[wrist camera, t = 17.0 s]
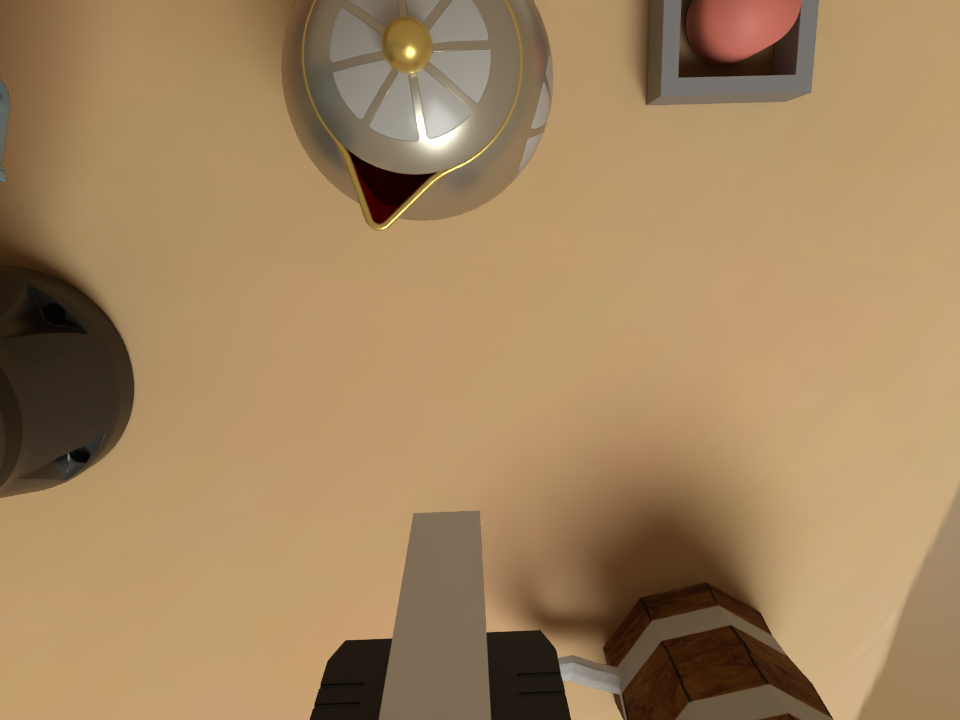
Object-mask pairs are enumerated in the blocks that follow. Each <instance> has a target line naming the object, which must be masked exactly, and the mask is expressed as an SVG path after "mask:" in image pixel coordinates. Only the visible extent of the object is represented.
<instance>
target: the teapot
mask: <svg viewBox="0 0 960 720" xmlns="http://www.w3.org/2000/svg"><path fill="white" fill-rule="evenodd" d="M282 83H283V91H284V97H285V102H286V106H287V110H288V113H289V116H290V119H291V122H292V125H293V127H294V130H295V132H296V134H297V137H298V139H299V141H300V143H301V144H302V146H303V148H304V150H305V151H306V153H307V154H308V156H309V157H310V159H311V160H312V162H313V163H314V164H315V166H316V167H317V168H318V169H319V171H320V172H321V173H322V174H323V175H324V176H325V177H326V178H327V179H328V180H329V181H330V182H331V183H332V184H333V185H334V186H335V187H336V188H337V189H339V190H340V191H341V192H342V193H344V194H345V195H347V196H348V197H349V198H351V199H353V200H354V201H356V202H357V203H359V204H360V206H361V209H362V212H363V215H364V217H365V220H366V222H367V224H368V225H369V226H370V227H371V228H372V229H374V230H378V231H382V230H386V229H387V228H389V227H390V226H391V225H392V224H393V223H394V222H395V221H396V220H397V219H398V218H400V219H407V220H422V221H426V220H438V219H445V218H450V217H454V216H458V215H461V214H464V213H467V212H469V211H471V210H474V209H476V208H478V207H480V206H482V205H484V204H485V203H487V202H489V201H490V200H492V199H493V198H495V197H496V196H497V195H499V194H500V193H501V192H502V191H504V190H505V189H506V188H507V187H508V186H509V185H510V184H511V183H512V182H513V181H514V180H515V179H516V178H517V177H518V176H519V175H520V173H521V172H522V171H523V169H524V168H525V167H526V165H527V164H528V162H529V161H530V159H531V158H532V156H533V154H534V153H535V151H536V149H537V147H538V145H539V143H540V140H541V138H542V136H543V133H544V130H545V127H546V124H547V121H548V117H549V112H550V108H551V102H552V94H553V63H552V55H551V49H550V44H549V40H548V36H547V32H546V29H545V26H544V23H543V20H542V18H541V15H540V13H539V11H538V8H537V7H536V5H535V3H534V1H533V0H296V2H295V4H294V7H293V9H292V12H291V14H290V17H289V20H288V24H287V27H286V32H285V36H284V42H283V50H282Z"/></svg>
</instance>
